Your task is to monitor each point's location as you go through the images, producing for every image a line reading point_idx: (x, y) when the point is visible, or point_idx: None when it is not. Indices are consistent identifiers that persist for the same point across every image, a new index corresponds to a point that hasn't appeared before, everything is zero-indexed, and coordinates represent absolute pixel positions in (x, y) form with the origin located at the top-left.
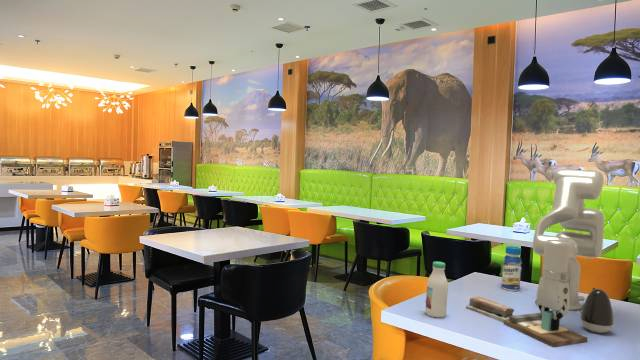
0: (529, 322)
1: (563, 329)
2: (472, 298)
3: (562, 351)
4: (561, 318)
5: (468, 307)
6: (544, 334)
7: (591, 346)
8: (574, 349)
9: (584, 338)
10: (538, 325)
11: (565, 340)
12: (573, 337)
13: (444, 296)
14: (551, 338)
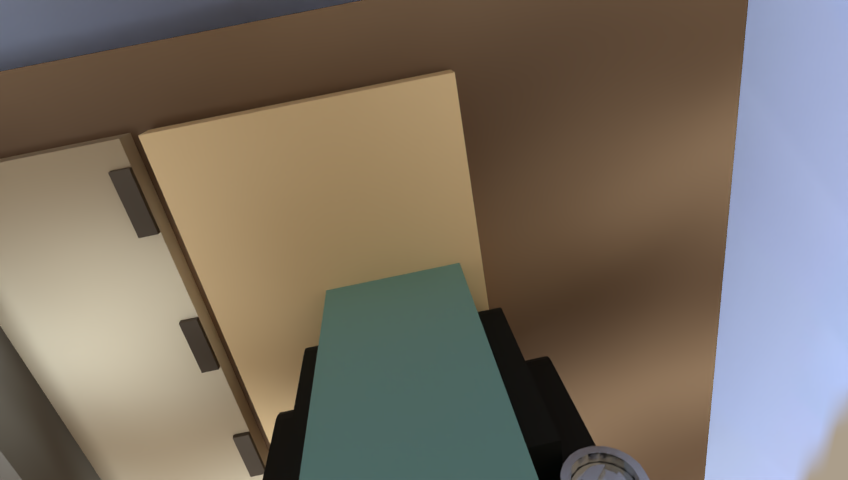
0: (141, 468)
1: (440, 162)
2: None
3: (772, 432)
4: (631, 458)
5: None
6: None
7: (832, 12)
8: (792, 302)
9: (742, 3)
10: (269, 429)
11: (710, 353)
12: (677, 184)
13: None
14: None
